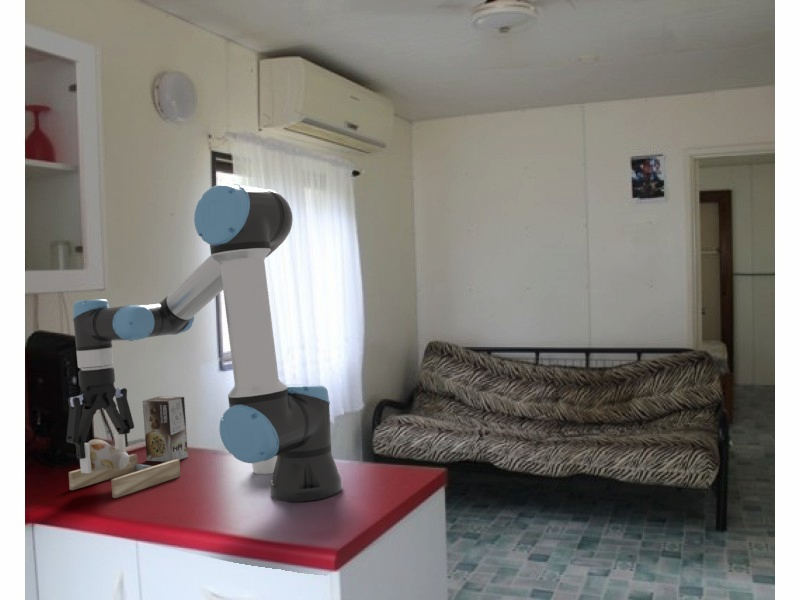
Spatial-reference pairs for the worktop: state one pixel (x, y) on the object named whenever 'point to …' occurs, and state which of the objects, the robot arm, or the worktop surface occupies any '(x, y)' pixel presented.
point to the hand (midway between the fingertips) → (104, 467)
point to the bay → (127, 476)
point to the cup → (265, 466)
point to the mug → (106, 456)
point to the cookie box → (165, 428)
